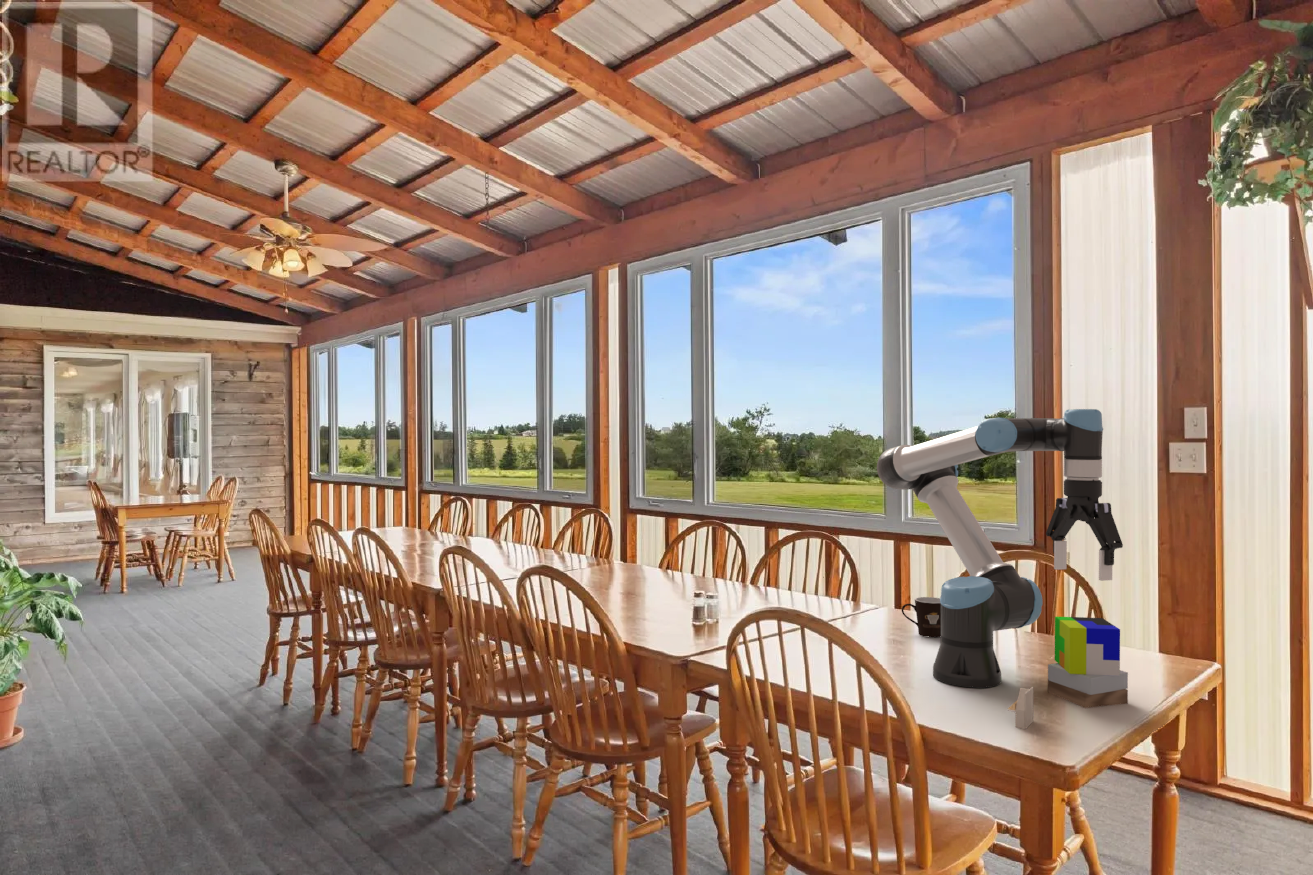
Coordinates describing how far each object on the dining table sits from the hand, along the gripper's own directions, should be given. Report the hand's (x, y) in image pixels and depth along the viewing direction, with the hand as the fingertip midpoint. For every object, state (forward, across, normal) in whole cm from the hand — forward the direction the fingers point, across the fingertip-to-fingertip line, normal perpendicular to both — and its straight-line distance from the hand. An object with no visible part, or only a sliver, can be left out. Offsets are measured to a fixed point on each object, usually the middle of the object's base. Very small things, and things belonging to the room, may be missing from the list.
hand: (1082, 574), depth 180 cm
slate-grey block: (+24, -2, 0) cm, 24 cm away
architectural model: (+28, -12, +24) cm, 39 cm away
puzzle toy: (+20, -1, 0) cm, 21 cm away
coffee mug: (+27, +57, +4) cm, 63 cm away
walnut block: (+27, -2, 0) cm, 27 cm away
